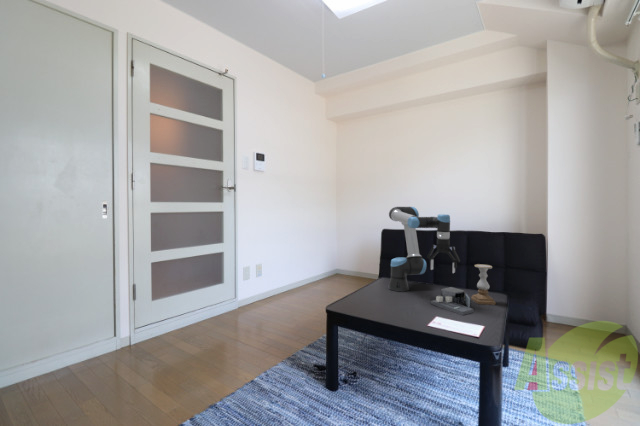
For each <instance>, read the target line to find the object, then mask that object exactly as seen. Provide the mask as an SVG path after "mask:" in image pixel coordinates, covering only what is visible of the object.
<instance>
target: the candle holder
mask: <svg viewBox="0 0 640 426" xmlns="http://www.w3.org/2000/svg"><path fill="white" fill-rule="evenodd" d="M474 267H475V268H478V270H479V272H480V273H479V274H478V277H479V278H480V279H479V280H478V282H477V284H476V288H477V289H478V290H477V293H476V294H472V296H471V297H470V300H472V301H473V302H474V303H475V304H477V305H486V306H487V305H488V306H489V305H491V306H496V301H495V300H494V298H493V297H491V296H490V295H489V291H488V290H489V289H490V284H489V282H488V281H487V278H488V277H489V276H488V273H487V272H488V270H491V269H493V266H492V265H490V264H480V263H477V264H474Z"/></svg>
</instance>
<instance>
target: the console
mask: <svg viewBox="0 0 640 426" xmlns="http://www.w3.org/2000/svg"><path fill="white" fill-rule="evenodd" d="M430 304H431V305H432V306H436V307H439V308H441V309H444V310H447V311H450V312H452V313H456V314H458V315H461V316H464V315H468V314H472V313H474V308H472V307H468V306H467V305H466V306H465V305H463V304H457V303H453V302H446V300H444V299H443V302H437V301H436V299H434V300H430Z"/></svg>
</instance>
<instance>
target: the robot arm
mask: <svg viewBox="0 0 640 426" xmlns="http://www.w3.org/2000/svg"><path fill="white" fill-rule="evenodd" d="M388 217H389V219H390V220H392V221H394V222H400V223H401V225H402V226H403V229H404V230H403V231H404V237H405V242H406V251H407V256H406V257H400V256H398V257H395V258H392V259H391V260H390V279H389V283H388V290H390V291H395V292H408V291H409V290H410V286H409V283H408V279H407V278H408V276H412V275H413V276H414V275H416V276H417V275H423V274H425V272H426V270H427V261H426V260H425V259H424V258H423V256H422V255H421V254H420V249H419V242H418V236H417V235H418V234H417V229H436V237H437V238H436V245H435V244H432V245H431V248H430V250H429V252H428V254H427V256H426V259H428V260H429V262H428V263H429V265H430V270H431V271H432V270H434V258H435V257H436V256H437V255H438V254H439V253H441V254H446V255H447V256H448V257H449V258H450V259H451V261H452V274H454V273H456V269H457V267H458V263H460V262H461V259H460V257H459V255H458V253H457V250H456V247H455V246H450V244H451V243H450V239H451V238H450V237H451V235H450V234H451V233H450V231H451V216H450V214H442V213H441V214H437V216H420V214H419V211H418V209H417V208H416V207H415V206H394V207H392V208H391V209H390V210H389V213H388ZM435 249H436V250H435ZM434 250H435V252H434ZM450 250H451V251H450ZM433 252H434V253H433ZM451 252H452V253H451Z"/></svg>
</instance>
